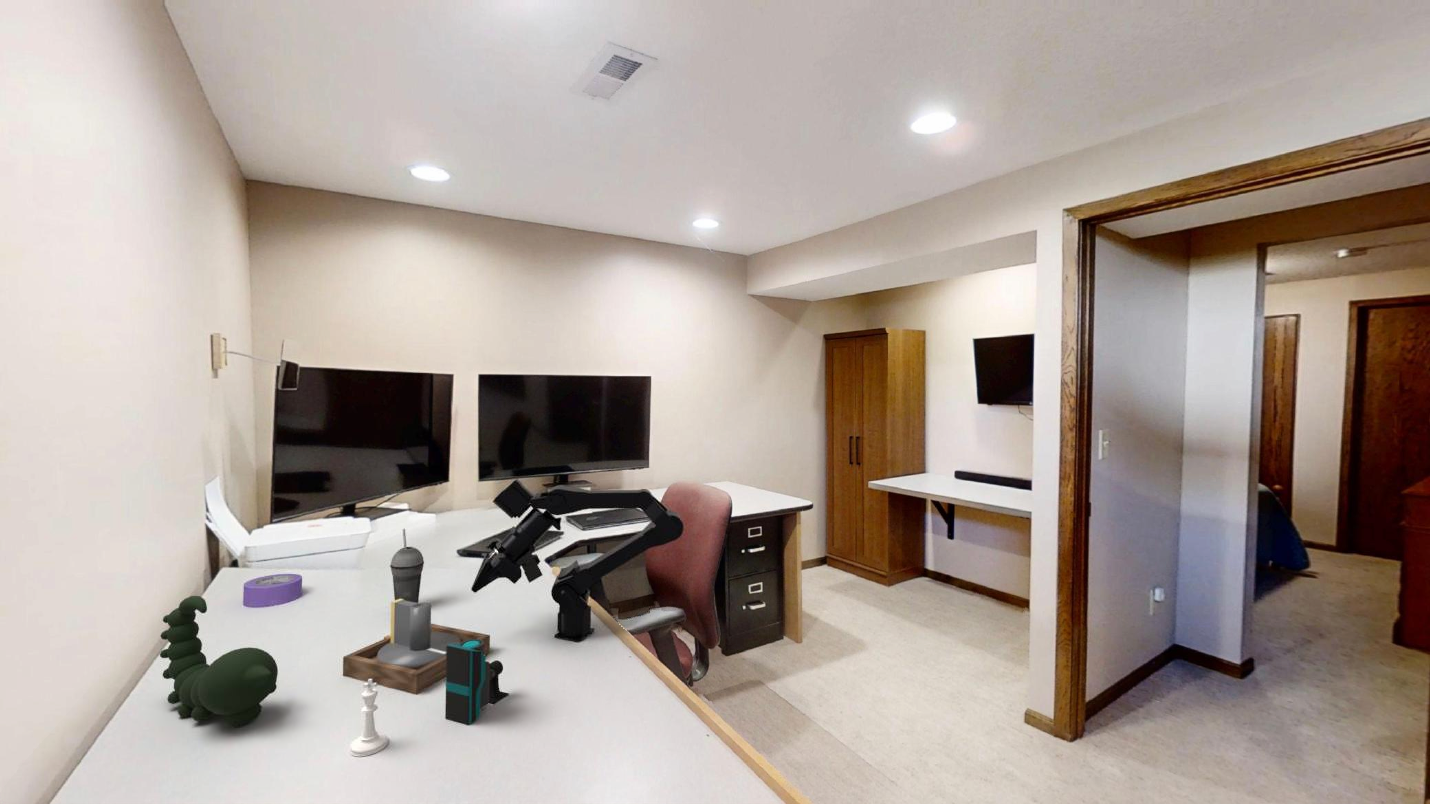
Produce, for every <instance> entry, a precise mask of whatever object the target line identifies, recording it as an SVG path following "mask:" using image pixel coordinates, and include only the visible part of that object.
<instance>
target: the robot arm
mask: <svg viewBox="0 0 1430 804" xmlns="http://www.w3.org/2000/svg"><path fill="white" fill-rule="evenodd" d="M492 503H494V505H495V506H497V507H498V508H499V510H501V511H502V512H503V513H505V514H506V515H507V516H508V517H509V518H511V519H513V518H514V519H516V518H518V519H520V518H521V517H522V516H523V515H524V514H525V513H526V512H527V511H528V510H529V509H530V508H532V509H531V510H530V511H529V512H528V513H527V514H526V515H525V516H524V517H523V518H522V519H521V520H520V521H519V522H518V524H517V525H516V526H514V525H513V526H512V527H511V528H510V529H509V533H508V534H507V535H506V536H505V537H504V538H503V539H502V540H501V539H500V538H499V537H491V538H490V539H489V540H488V541H487V542H486V543H485V545H484V546H485V547H486V548H487V550H488V549H490V550H491V552H490V553H488V552H485V554H484V557H483V559H482V562H481V564H480V567H479V569H478V572H477V573H476V576H475V578H474V580H473V583H472V586H471V591H472V592H473V593H475V594H476V593H477V592H479V591H481V590H482V589H483V588H486V586H488V585H489V584H491V583H492V582H494V581H496V580H497V579H503V578H506V579H508V581H510V582H511V583H512V584H515V585H516V583H518V581H519V580H520V579H521V578H522V576H523V575H522V573H523V572H524V573H523V574H524V576H525V578H526V579H527V581H528V583H529V584H530V583H532V582H533V581H535V580H537V579H538V578H540V577H542V576H543V573H542V571H541V569H540V567H539V565H540V562H541V560H540V558H539V555H538V554H536V553H535V554H533V553H534V552H535V550H536V546H535V545H536V544H537V543H538V542H539V541H540V540H541V538H543V537H544V535H545V534H546V533H548V531H549V530H550V529H551V528H552V527H553V528H555V529H556V530H557V531H561V529H562V526H561V522H562V517H561V516H562V515H568V514H573V513H577V512H580V511H584V510H598V509H599V510H603V509H606V510H607V509H609V510H610V509H611V510H612V509H613V510H615V509H640V510H641V512H643V513H644V514H645V516H647V518H649V520H650V522H649V523H648V524H647V525H646V526H645V527H644V528H643V529H642V530H641V531H639V532H638V533H636V534H635V535H633V536H631V537H629V538H628V539H626V540H625V541H623V542H621V543H620V544H617V546H615V547H613V548H611V549H610V550H608V551H605V553H603V554H601V555H600V556H598V557H596V558H594V559H593V560H591V561H590V562H588V563H585V564H580V565H579V561H578V560H575V561H574V562H572V563H571V564H570V565H568V566H566V567H563V568H561V569H560V571H559V573H558V575H557V576H556V577H555V580H554V582H553V585H552V587H551V597H552V599H553V601H554V602H555V604H556V603H557V604H558V605H559V608H558V612H557V619H556V620H557V622H556V623H557V626H556V629H557V632H556V633H555V634H553V635H554V636H553V637H554V638H556V639H561V640H567V641H570V642H571V641H572V642H578V643H579V642H581V641H582V640H584V639H585V638H587V637H589V635H591V634H593V633H594V632H595V628H592V627H591V626H592V620H591V619H592V611H591V610H592V606H591V605H589V604H588V602H589V599H590V594H591V590H590V589H589V588H590V587H591V586H593V584H594V583H595V582H597V581H599V580H600V579H601V578H603V577H604V576H606V575H608V574H609V573H611V572H613V571H615V570H616V569H618V568H619V567H621V566H623V565H624V564H626V563H628V562H630V561H631V560H633V559H634V558H636V557H638V556H639V555H641V554H643V553H644V552H647V551H648V550H649V549H652V548H655V547H661V546H663V545H666V544H669V543H672V542H674V541H676V540H678V539H679V538H681V536H682V535H683V531H684V523H683V521H682V518H681V516H680V515H679V513H678V512H677V511H675V510H671V509H668V508H667V507H666V506H665V505H664V504H662V503H661V501H659V500H658V499H657V498H656V497H655V496H654V495H653V494H652V492H651V491H650V490H648V489H646V488H641V489H613V490H612V489H604V490H600V489H599V490H597V489H596V490H595V489H594V490H593V489H591V490H589V489H584V488H581V487H576V486H571V485H565V484H559V485H555V486H554V487H552V488H551V489H550V490H549V491H545V492H544V491H543V492H538V493H535V494H533V493H532V492H531V491H530V490H529V489H528V488H527V487H525V486H524V484H523V483H522V482H521V480H519V479H518V478H517V479H514V480H513V481H512V482H511V483H510V484H509V485H508V486H507V487H506V488H505V489H503V490H502V491H501V492H500V493H499V494H498V495H497V496H496V497H495V498H494V499H493V500H492ZM541 510H544V511H541ZM555 516H560V517H555ZM521 567H522V568H521ZM522 570H523V571H522ZM592 632H593V633H592Z"/></svg>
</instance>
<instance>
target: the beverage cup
mask: <svg viewBox="0 0 1430 804" xmlns="http://www.w3.org/2000/svg"><path fill="white" fill-rule="evenodd" d="M406 538H407V537H406V529H405V528H402V539H403V548H400V549H398V550H397V551H396V552H395V554H393V556H392V559H391V562H390V564H389V565H390V566H389V568H390V570H391V575H392V583H393V584H392V585H393V596H394V601H395V600H398V599H404V600H405V601H410V602H415V603H419V599H420V598H419V597H420V589H421V583H422V582H421V580H422V572H423V569H424V564H425V561H424V556H423V554H422V552H421V551H420V550H419V549H418V548H416V547H414V546H407V539H406Z"/></svg>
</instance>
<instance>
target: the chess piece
mask: <svg viewBox="0 0 1430 804" xmlns="http://www.w3.org/2000/svg"><path fill="white" fill-rule="evenodd" d="M362 686H363V688H367V689H366V690H365V691H363V692H362V693H361V696H362V700H363V702H364V705H365V706H363V707H362V708H361V711H360V712H361V713H362V714H365V715H364V716H365V717H364V725H363V730H362V734H361V735H360V736H359V737H357V738H356V739H354V740H352V742H351V743H350V745H349V750H348V753H349V754H350V756H353V757H358V758H359V757H360V758H361V757H366V756H371V755H373V754H376V753H378V752H380V751H383V749H384V748H386V747H387V745H388V743H389V740H388V739H389V738H388V735H387V734H386V733H384V732H380V731H379V732H378V731H377V730H376V727H375V717H374V712H375V711H377V710H378V709H379V707H378V704H375V701H376V698H377V696H378V689H374V688H376V687H377V683H372V679H369V680H368V682H365V683H363V684H362Z"/></svg>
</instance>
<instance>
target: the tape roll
mask: <svg viewBox="0 0 1430 804" xmlns="http://www.w3.org/2000/svg"><path fill="white" fill-rule="evenodd" d="M242 593H243V596H242V597H243V598H242V605H243V606H244V607H247V608H256V609H257V608H259V609H260V608H269V607H275V605H276V606H280V605H284V604H288V603H292V602H294V601H296V599H297V600H298V599H300V598H301V597H302V593H303V576H302V575H301V574H298V573H297V574H296V573H281V574H279V573H277V574H272V575H271V574H270V575H264V576H259V577H256V578H252V579H250V580H248V581H246V582H244V583H243V591H242ZM291 601H292V602H291Z"/></svg>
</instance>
